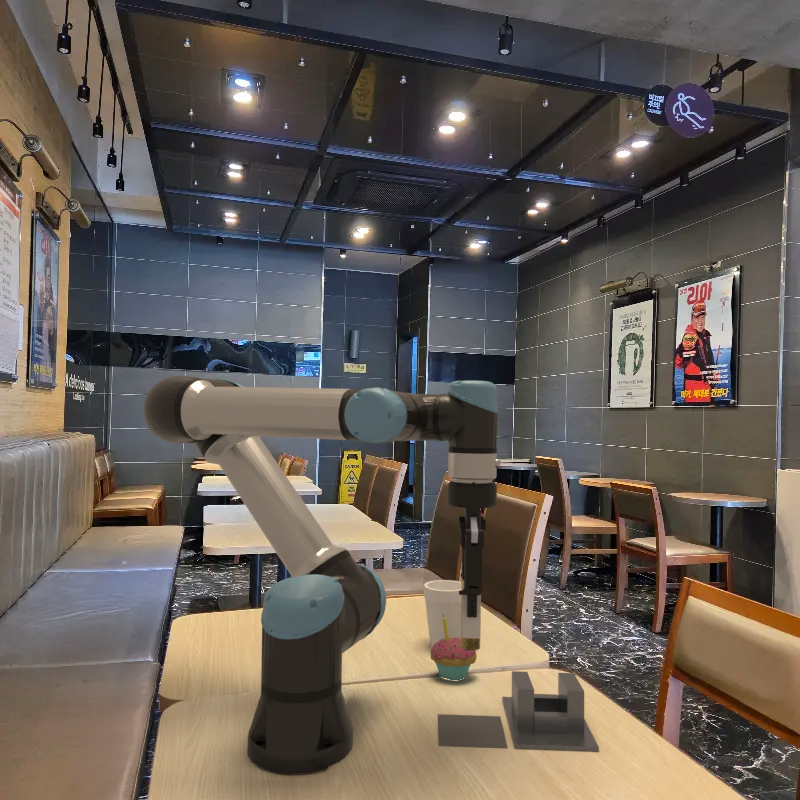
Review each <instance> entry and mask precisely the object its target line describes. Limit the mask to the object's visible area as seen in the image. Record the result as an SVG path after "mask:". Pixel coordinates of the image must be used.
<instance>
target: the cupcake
mask: <svg viewBox="0 0 800 800" xmlns="http://www.w3.org/2000/svg"><path fill="white" fill-rule="evenodd" d="M443 625H444V632H445V639H441V640H439V641H438V642H436V643H435V645H434V646H433V647H431V646H430V659H431V660H432V661H434V663H435V664H436V665H435V666H436V668H437V671H438V675H439V678H440V677H443V678H447V679H450V680H460V679H463V678H465V677H466V678H467V675H468V672H469V670H470V667H471V665H472V664H475V663H476V660H477V653H476V652H477V650H474V651H470V650H465V649H462V648H461V639H460V638H451V637H450V638H449V636H448V628H447V621H446V617H444V614H443ZM466 678H465V679H466Z"/></svg>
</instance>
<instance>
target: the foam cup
mask: <svg viewBox="0 0 800 800" xmlns="http://www.w3.org/2000/svg"><path fill="white" fill-rule="evenodd" d="M461 587H462V583H461V581H459V580H451V579H448V580H447V579H437V580H431V581H427V582H425V583H424V584H423V598H424V602H425V610H426V617H427V618H426V619H427V626H428V628H427V629H428V637H429V643H430V648H431V647H433V646H434V645H435V643H436V642H438V641H439V640H441V639H445V632H444V625H443V614H444V617H446V621H447V628H448V636H449V638H450V637H451V638H460V639H461V595H459V590H461Z"/></svg>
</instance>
